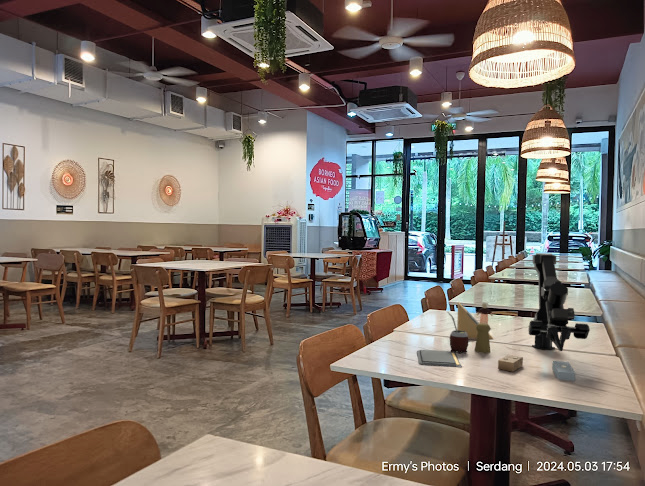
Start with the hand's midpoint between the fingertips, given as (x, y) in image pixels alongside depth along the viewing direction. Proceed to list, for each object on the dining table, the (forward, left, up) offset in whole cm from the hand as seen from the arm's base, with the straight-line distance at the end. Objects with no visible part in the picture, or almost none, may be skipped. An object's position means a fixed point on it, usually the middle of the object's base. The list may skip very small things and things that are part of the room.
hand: (561, 350), depth 160 cm
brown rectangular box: (+8, -12, -6) cm, 15 cm away
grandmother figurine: (-33, -70, -8) cm, 78 cm away
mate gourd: (+15, -35, -8) cm, 38 cm away
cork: (+5, -32, -8) cm, 33 cm away
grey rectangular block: (0, 0, -5) cm, 5 cm away
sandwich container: (-12, -54, -8) cm, 56 cm away
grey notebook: (+29, -29, -8) cm, 42 cm away
